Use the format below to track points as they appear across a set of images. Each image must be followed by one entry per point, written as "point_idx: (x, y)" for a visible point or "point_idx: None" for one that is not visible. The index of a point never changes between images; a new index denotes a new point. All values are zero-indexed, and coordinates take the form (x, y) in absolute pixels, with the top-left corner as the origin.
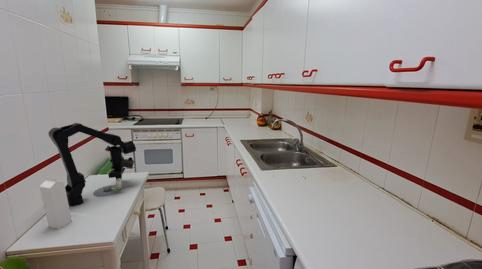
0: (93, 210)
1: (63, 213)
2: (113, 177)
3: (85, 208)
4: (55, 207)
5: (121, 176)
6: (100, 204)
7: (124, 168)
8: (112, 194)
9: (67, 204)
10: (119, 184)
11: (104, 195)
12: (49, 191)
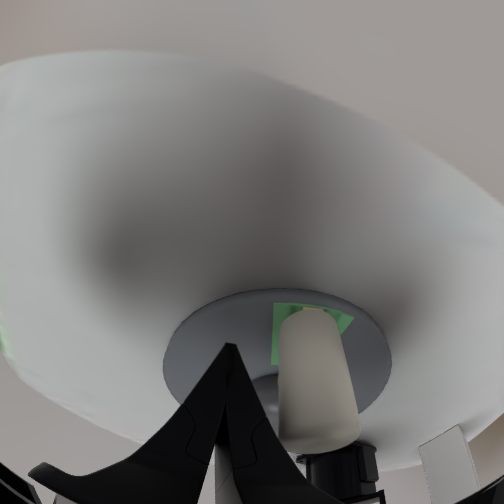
0: (456, 397)
1: (471, 459)
2: (462, 499)
3: (409, 425)
4: (479, 483)
5: (248, 425)
6: (431, 389)
7: (49, 488)
8: (388, 364)
9: (474, 476)
10: (347, 368)
11: (358, 401)
12: None
